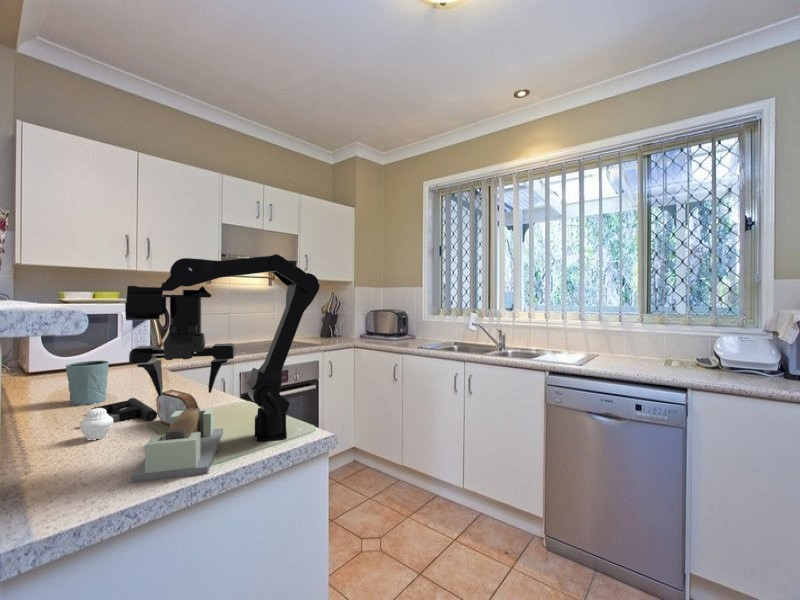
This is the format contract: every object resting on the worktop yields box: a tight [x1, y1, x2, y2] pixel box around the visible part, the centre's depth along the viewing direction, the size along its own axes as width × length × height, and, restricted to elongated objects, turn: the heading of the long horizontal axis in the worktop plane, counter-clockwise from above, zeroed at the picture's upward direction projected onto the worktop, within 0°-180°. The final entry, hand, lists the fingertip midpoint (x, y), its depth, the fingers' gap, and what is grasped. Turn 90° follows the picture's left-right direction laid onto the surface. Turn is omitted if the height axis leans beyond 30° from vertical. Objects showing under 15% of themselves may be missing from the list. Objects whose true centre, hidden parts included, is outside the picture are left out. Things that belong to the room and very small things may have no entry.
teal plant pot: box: [65, 360, 110, 406], centre depth 118 cm, size 10×10×12 cm
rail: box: [165, 407, 201, 440], centre depth 79 cm, size 3×16×6 cm, turn 18°
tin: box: [156, 389, 199, 426], centre depth 97 cm, size 15×3×8 cm, turn 59°
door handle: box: [79, 397, 158, 424], centre depth 103 cm, size 3×20×16 cm
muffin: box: [78, 408, 114, 441], centre depth 88 cm, size 6×6×7 cm
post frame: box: [130, 407, 224, 483], centre depth 79 cm, size 12×22×6 cm, turn 18°
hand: (185, 394), depth 81 cm, fingers open, 9 cm apart
